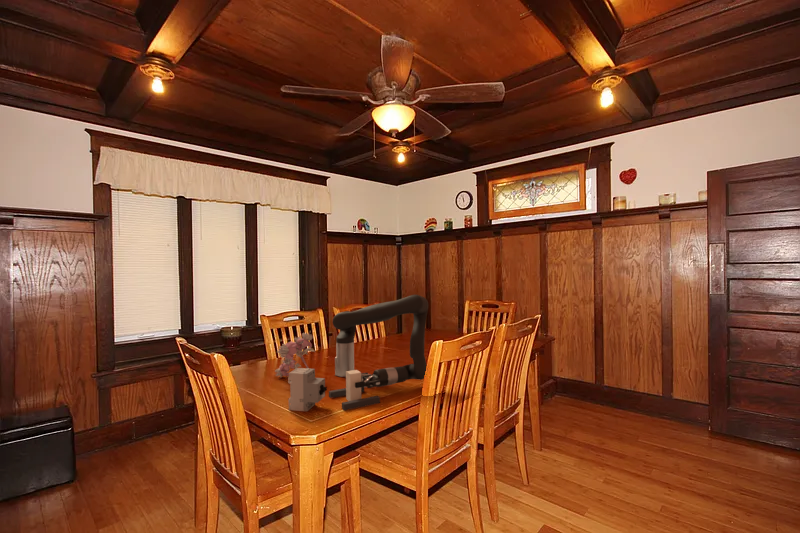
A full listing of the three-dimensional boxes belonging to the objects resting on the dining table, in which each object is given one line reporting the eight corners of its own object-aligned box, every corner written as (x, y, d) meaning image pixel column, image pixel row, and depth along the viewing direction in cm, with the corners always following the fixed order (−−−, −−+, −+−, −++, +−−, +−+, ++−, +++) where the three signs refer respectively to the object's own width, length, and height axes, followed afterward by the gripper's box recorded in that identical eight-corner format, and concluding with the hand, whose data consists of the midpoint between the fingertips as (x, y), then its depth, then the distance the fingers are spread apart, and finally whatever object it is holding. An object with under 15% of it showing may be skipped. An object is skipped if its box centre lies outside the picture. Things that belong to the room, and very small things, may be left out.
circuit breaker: (321, 412, 153) (321, 374, 152) (288, 410, 155) (288, 372, 155) (329, 405, 160) (328, 369, 160) (297, 403, 163) (296, 367, 163)
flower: (305, 365, 219) (285, 327, 211) (331, 367, 204) (311, 327, 197) (278, 389, 204) (256, 350, 197) (304, 393, 190) (281, 351, 183)
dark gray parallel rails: (362, 390, 178) (362, 385, 178) (380, 403, 162) (380, 397, 162) (328, 396, 171) (328, 391, 171) (344, 410, 154) (343, 404, 154)
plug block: (357, 396, 170) (356, 369, 170) (361, 400, 165) (361, 372, 165) (346, 398, 167) (345, 371, 167) (350, 402, 163) (350, 374, 163)
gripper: (378, 365, 180) (345, 370, 172) (392, 372, 167) (357, 378, 160) (378, 381, 180) (345, 386, 172) (392, 389, 167) (358, 396, 160)
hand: (351, 382), depth 166 cm, fingers open, 8 cm apart
